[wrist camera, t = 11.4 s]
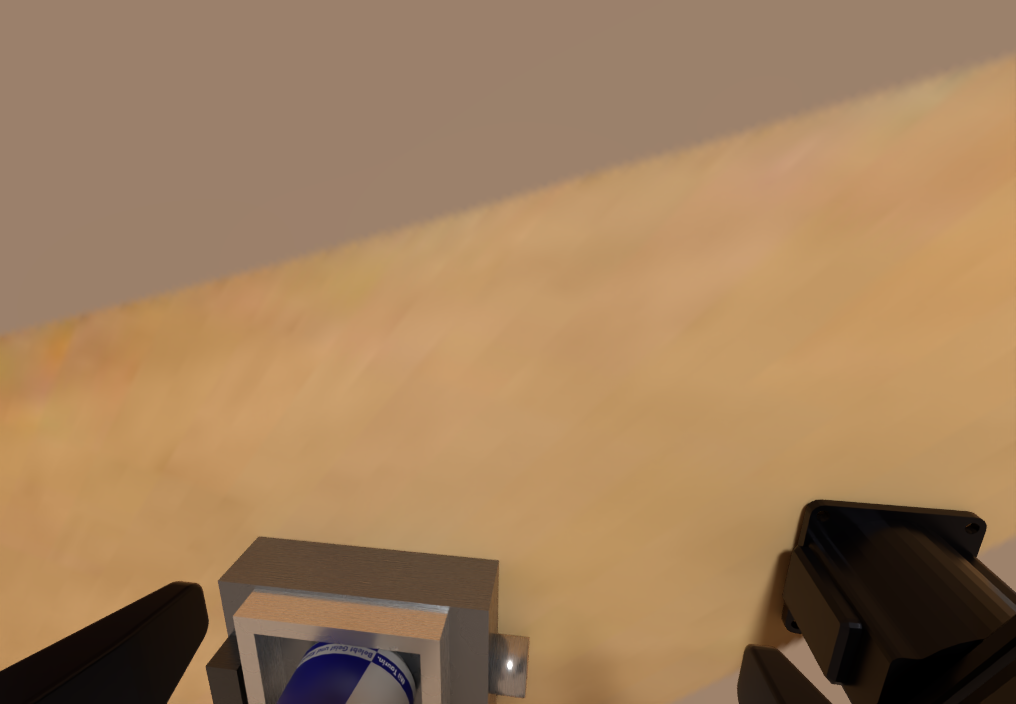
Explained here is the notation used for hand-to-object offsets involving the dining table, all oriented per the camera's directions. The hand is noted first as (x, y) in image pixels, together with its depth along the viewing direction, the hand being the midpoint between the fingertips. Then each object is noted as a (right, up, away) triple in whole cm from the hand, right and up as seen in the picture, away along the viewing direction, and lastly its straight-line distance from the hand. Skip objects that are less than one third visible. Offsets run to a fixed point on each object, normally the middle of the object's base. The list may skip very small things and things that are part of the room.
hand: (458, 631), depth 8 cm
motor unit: (-6, -9, +17) cm, 20 cm away
